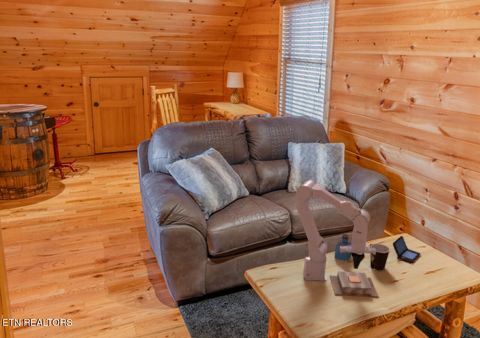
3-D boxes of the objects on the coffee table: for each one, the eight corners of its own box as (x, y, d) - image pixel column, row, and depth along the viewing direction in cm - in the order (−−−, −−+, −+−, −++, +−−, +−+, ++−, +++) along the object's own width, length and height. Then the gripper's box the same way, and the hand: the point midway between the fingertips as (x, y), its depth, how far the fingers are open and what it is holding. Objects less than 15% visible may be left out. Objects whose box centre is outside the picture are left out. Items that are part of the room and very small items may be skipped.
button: (349, 287, 175) (350, 281, 174) (347, 281, 179) (348, 275, 178) (359, 288, 174) (360, 281, 173) (357, 282, 179) (358, 276, 178)
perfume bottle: (339, 253, 205) (341, 231, 201) (351, 256, 201) (353, 234, 198) (334, 257, 200) (336, 235, 196) (346, 262, 197) (349, 239, 193)
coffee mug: (388, 273, 188) (391, 253, 185) (368, 270, 190) (371, 251, 187) (384, 260, 199) (387, 241, 196) (366, 258, 200) (368, 239, 197)
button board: (334, 295, 171) (335, 287, 170) (329, 276, 184) (330, 269, 183) (378, 297, 170) (379, 290, 169) (370, 278, 183) (371, 271, 182)
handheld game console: (412, 264, 196) (414, 250, 194) (390, 256, 203) (392, 243, 201) (421, 255, 205) (423, 241, 203) (399, 247, 212) (401, 234, 210)
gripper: (343, 242, 166) (340, 271, 171) (379, 244, 166) (375, 273, 170) (340, 234, 173) (337, 262, 177) (375, 236, 172) (371, 264, 177)
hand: (355, 267), depth 174 cm, fingers closed
